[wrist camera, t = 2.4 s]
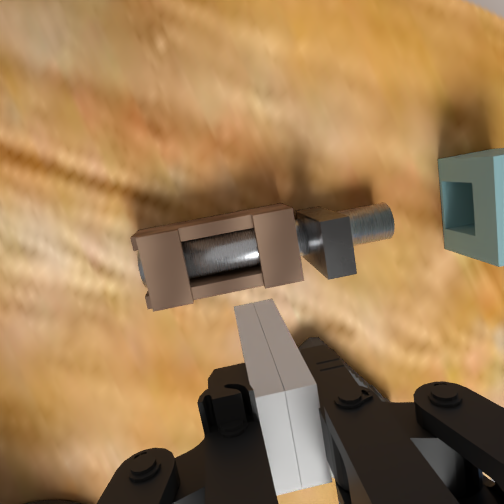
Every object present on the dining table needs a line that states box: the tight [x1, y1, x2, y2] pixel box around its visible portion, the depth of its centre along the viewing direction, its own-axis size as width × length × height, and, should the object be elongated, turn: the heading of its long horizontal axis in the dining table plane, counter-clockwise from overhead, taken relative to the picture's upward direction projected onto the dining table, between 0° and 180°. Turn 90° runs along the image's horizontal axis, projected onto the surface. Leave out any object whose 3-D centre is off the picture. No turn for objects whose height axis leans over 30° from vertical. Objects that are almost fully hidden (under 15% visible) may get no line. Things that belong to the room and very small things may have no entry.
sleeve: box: [131, 203, 304, 312], centre depth 33 cm, size 12×6×5 cm, turn 100°
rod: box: [138, 203, 394, 287], centre depth 31 cm, size 20×4×8 cm, turn 100°
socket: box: [438, 148, 504, 267], centre depth 33 cm, size 5×8×7 cm, turn 10°
